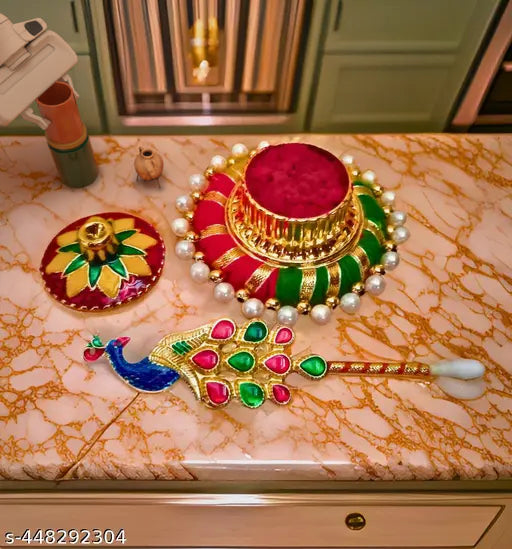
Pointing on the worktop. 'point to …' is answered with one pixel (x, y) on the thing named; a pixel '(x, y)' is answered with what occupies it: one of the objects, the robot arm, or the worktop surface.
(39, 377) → the worktop surface
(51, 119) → the cup
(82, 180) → the jar
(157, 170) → the pot
